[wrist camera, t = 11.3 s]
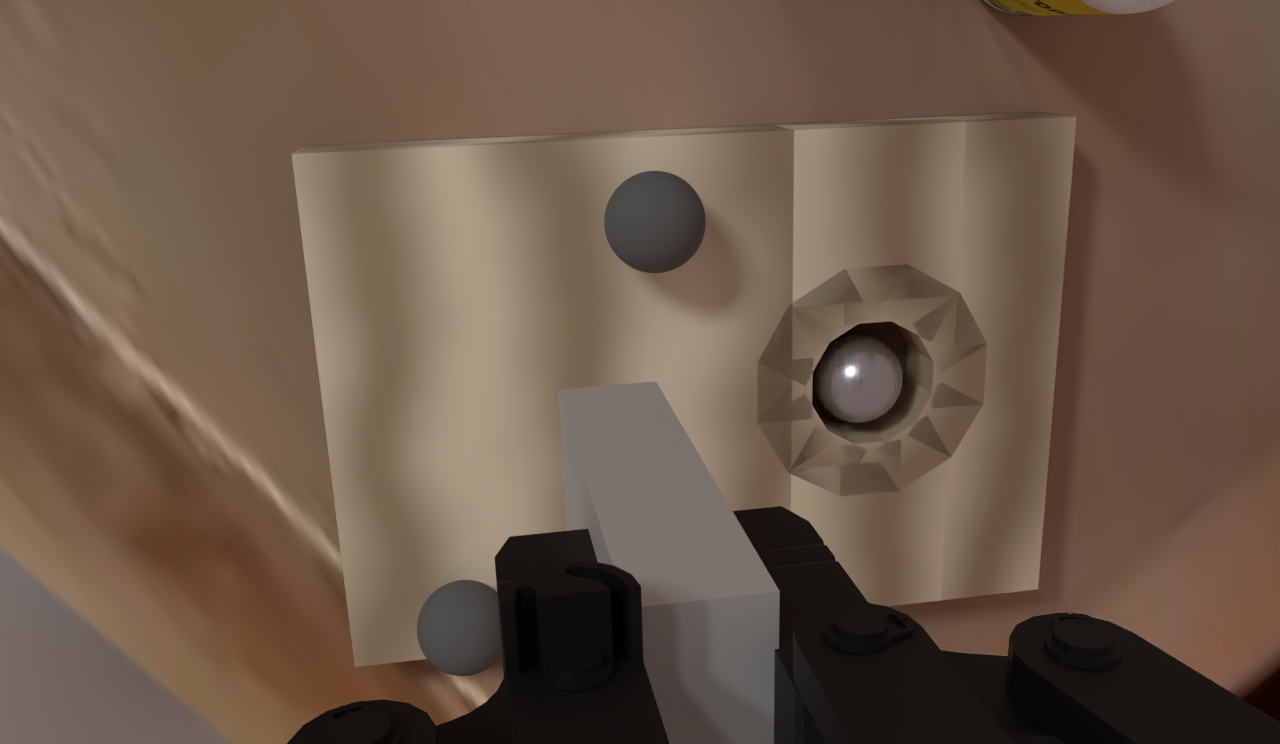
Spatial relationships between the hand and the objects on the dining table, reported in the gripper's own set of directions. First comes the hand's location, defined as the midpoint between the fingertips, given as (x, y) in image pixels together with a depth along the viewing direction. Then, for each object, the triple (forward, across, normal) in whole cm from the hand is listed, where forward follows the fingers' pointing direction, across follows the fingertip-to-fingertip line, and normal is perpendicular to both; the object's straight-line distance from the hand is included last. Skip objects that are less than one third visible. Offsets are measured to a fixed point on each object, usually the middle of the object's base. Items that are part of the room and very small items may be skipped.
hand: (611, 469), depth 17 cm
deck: (+22, +6, -6) cm, 24 cm away
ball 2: (+19, +4, 0) cm, 19 cm away
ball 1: (+18, -3, -13) cm, 23 cm away
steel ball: (+21, +12, -6) cm, 25 cm away
